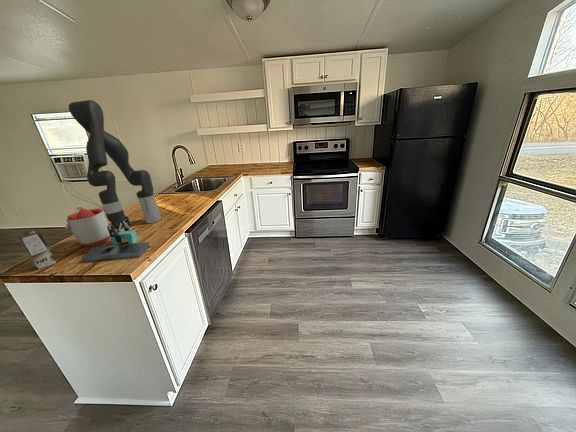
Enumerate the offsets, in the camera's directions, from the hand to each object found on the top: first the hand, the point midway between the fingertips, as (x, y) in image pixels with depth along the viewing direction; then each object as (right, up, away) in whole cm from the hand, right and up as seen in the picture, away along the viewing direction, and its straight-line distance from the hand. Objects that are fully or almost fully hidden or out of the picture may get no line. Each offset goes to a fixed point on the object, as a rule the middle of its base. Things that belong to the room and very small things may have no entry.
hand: (124, 238), depth 124 cm
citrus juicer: (-19, -3, +4) cm, 20 cm away
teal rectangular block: (0, -2, +1) cm, 3 cm away
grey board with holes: (+4, -7, -10) cm, 13 cm away
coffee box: (-28, -11, -14) cm, 33 cm away
